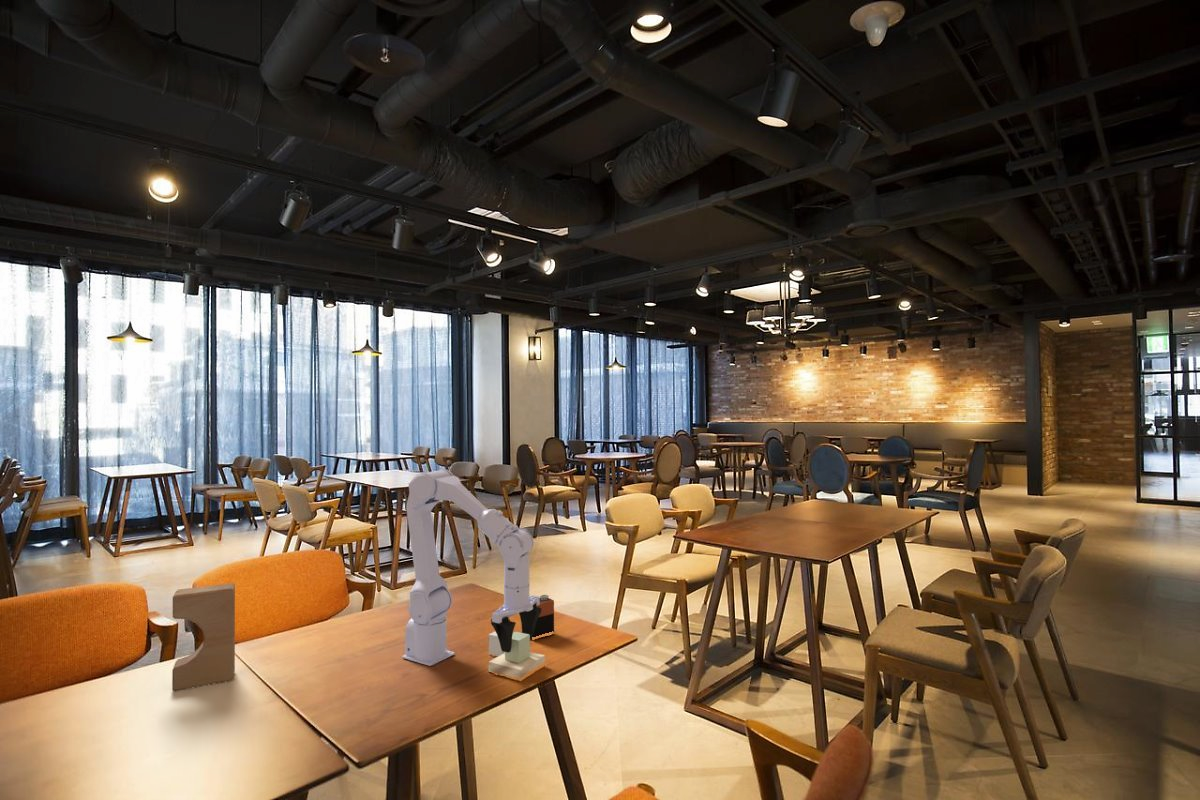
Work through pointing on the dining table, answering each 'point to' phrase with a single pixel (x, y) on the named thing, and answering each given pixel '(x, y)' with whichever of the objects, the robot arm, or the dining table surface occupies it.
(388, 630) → the dining table surface
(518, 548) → the robot arm
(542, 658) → the birch base block
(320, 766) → the dining table surface
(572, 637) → the dining table surface
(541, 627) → the battery
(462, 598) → the dining table surface
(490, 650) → the grey block
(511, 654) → the sage block
